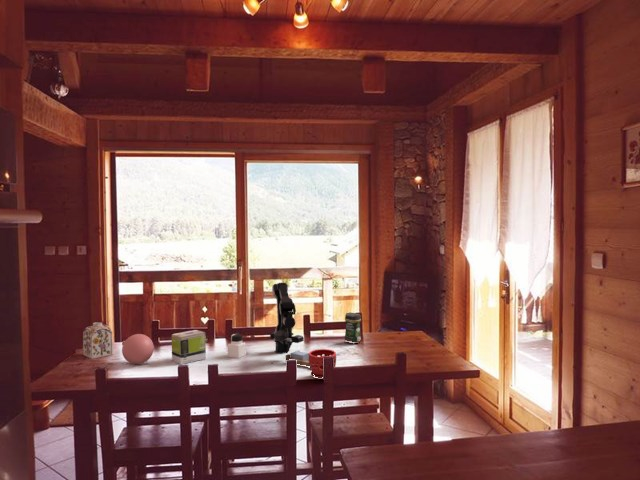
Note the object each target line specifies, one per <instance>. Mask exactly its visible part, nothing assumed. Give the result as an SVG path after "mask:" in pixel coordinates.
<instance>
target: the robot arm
mask: <svg viewBox="0 0 640 480" xmlns="http://www.w3.org/2000/svg"><path fill="white" fill-rule="evenodd" d="M288 285H289V284H288V283H286V282H277V283H274V284H273V285H272V288H271V290H272V292H273V296H274V299H276V313H277V314H276V315H277V318H276V319H277V325H276V327H275V329H274V330H275V331H274V332H271V333H270V335H269V339H271V340H273V341H274V343H275V350H273V353H278V354H284V353H285V354H288V353H289V351H290V348H291V346H292V345H293V343H295V344H299V343H302V342H304V341H305V339H304V336H303V335H299V334H296V335H294V332H293V329H294V327H295V325H296V320H295V318H294V317H293V315H296V312H297V310H296V309H297V308H296V305H295V303H294V302H293V299H292V298H290V297H289V293H288V291H289V288H288Z"/></svg>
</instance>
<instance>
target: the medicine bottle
mask: <svg viewBox="0 0 640 480" xmlns="http://www.w3.org/2000/svg"><path fill="white" fill-rule="evenodd" d="M230 340H231V341H230V343H228V344H227V358H234V359H241V358H243V357H245V356H246V351H247V350H246V349H247V348H246V347H247V346H246V343H247V342H244V341H243V335H242V334H240V333H233V334H232V335H231V337H230Z"/></svg>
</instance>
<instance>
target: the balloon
mask: <svg viewBox="0 0 640 480" xmlns="http://www.w3.org/2000/svg"><path fill="white" fill-rule="evenodd" d="M121 345H122V349H121V353H122V356H123V358H124V359H125V360H126V361H127V363H130V364H131V365H143V364H144V363H146V362H148V361H149V360H150V359H151V357H152V356H153V354H154V349H155V347H154V343H153V341H152V339H151V338H150V337H149V336H147V334H142V333H136V334H132V335H131V336H129V337H127V338H126V339H125V340H122V342H121Z"/></svg>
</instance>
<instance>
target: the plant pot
mask: <svg viewBox="0 0 640 480" xmlns="http://www.w3.org/2000/svg"><path fill="white" fill-rule="evenodd" d="M308 353H309V365H310V368H309V369H310V370H311V372H310V376H311V375H312V376H314V375H315V377H318V378H322V377H323V358H324V357H333V359H334V367H335V368H336V364H337V353H336V351H335V350H332V349H327V348H326V349H325V348H320V349H313V350H311V351H309V352H308ZM324 355H325V356H324ZM322 356H324V357H322ZM313 374H314V375H313ZM312 376H311V377H312Z"/></svg>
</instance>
